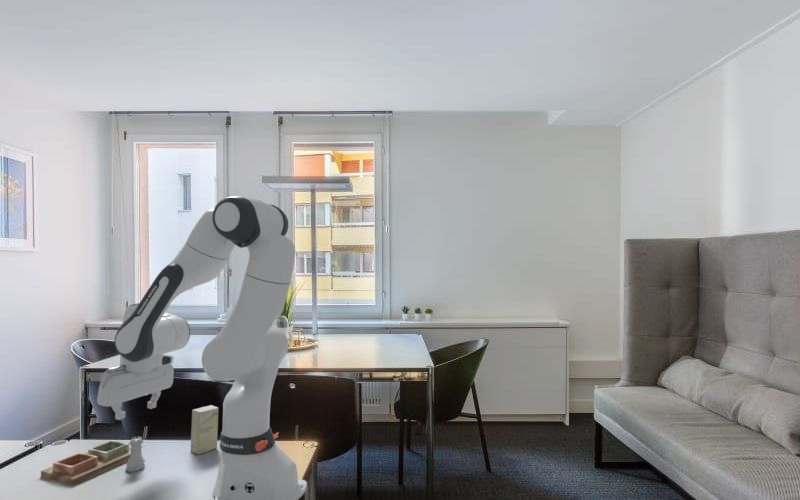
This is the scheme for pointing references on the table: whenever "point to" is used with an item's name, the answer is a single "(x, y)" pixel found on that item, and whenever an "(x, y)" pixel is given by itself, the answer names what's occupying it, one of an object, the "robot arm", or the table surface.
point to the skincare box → (204, 429)
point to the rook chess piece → (135, 456)
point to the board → (88, 463)
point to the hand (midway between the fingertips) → (136, 413)
